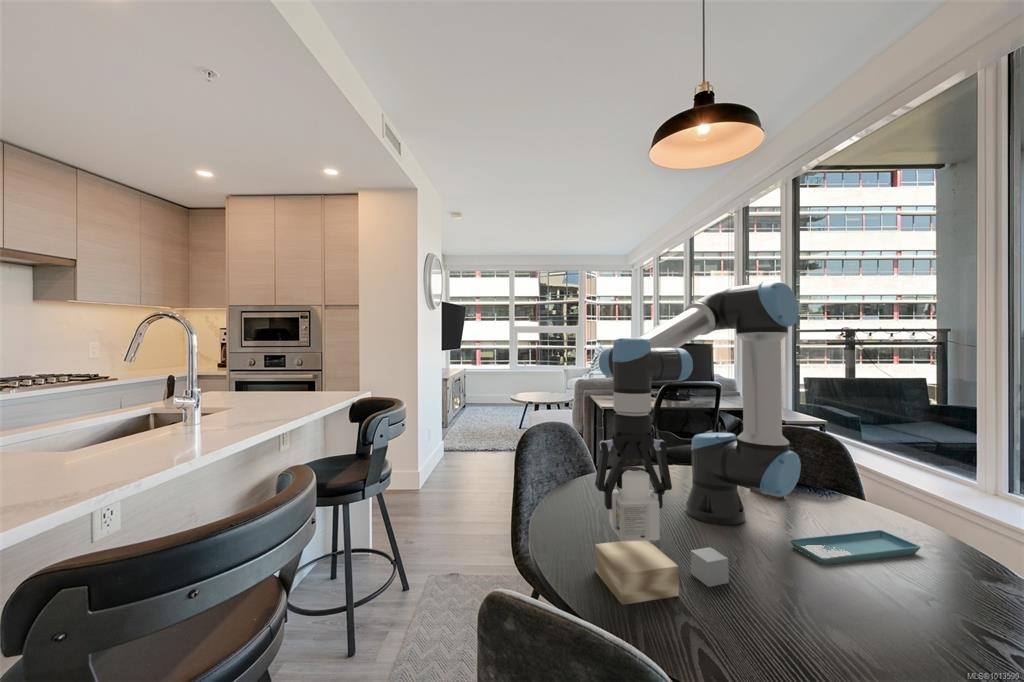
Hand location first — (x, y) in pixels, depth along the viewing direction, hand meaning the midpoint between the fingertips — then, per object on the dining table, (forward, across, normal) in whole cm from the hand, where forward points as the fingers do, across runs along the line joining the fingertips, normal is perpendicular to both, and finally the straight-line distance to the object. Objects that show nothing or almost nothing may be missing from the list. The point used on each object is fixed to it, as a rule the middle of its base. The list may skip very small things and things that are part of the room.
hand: (633, 524), depth 84 cm
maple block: (+12, 0, 0) cm, 12 cm away
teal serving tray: (+12, -55, -11) cm, 58 cm away
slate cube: (+12, -16, -1) cm, 20 cm away
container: (+2, 0, 0) cm, 2 cm away
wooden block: (+12, -59, -48) cm, 77 cm away
